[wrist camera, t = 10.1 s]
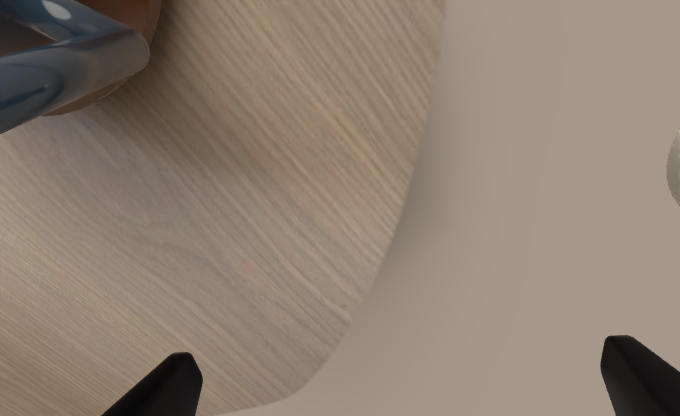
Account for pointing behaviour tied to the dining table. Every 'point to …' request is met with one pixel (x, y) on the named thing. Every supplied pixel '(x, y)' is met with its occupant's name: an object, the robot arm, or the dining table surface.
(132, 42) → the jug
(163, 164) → the dining table surface
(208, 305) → the dining table surface
